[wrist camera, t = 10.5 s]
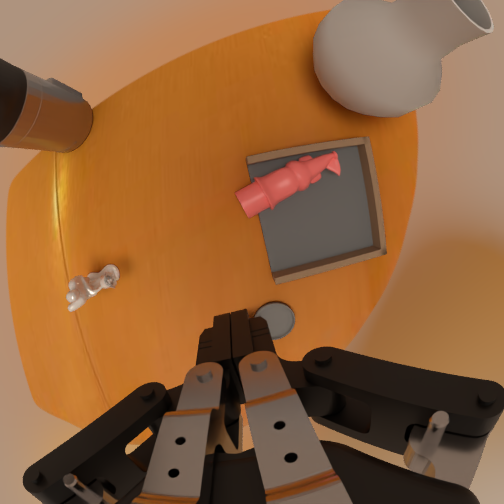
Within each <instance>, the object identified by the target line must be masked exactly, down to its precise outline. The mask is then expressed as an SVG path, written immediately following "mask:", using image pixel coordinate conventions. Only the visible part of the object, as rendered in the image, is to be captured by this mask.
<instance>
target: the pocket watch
mask: <svg viewBox="0 0 504 504" xmlns="http://www.w3.org/2000/svg"><path fill="white" fill-rule="evenodd" d="M259 316H261V317H262V318H264V319H265V320H267V323H268V327H269V330H270V334H271V337H272V340H276V339H280V338H283V337H285V336H286V335H288V334H289V333H290V332H291V330H292V329H293V327H294V324H295V316H294V313H293V311H292V310H291V309H290V308H289V307H288V306H287V305H285V304H283V303H278V302H273V303H269V304H266V305H264V306H262V307H261V308H260V309H259V310H258V311H257V312H256V314H255V316H254V318H255V317H259ZM249 319H251V318H249Z"/></svg>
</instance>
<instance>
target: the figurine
mask: <svg viewBox="0 0 504 504" xmlns="http://www.w3.org/2000/svg"><path fill="white" fill-rule="evenodd" d="M119 277H120V273H119V270H118V268H117V267H116V266H115V265H113V264H108V265H106V266H105V267H104V268H103V269H102V270H101V271H100V272H99V273H95V272H92V273H89V274H88V276H87V277H83V276H82V275H78V276H76V277H74V278H73V279H71V280H70V282H69V289H70V291H69V292H68V293H67V295H66V299H67V300H68V301H69V302H71V303H70V304H69V305H68V310H69V311H70V312H73V311H75V310H76V309H78V308H80V307H81V306H82V305H84V303H85V302H86V301H87V300H88V299H89V298H91V297H92V296H93V297H94V296H95V295H96V294H97V292H98V291H100V290H101V289H102V288H105V289H106V288H110V287H111V288H115V286H116V284H117V282H116V281H117V280H119Z"/></svg>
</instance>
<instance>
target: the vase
mask: <svg viewBox="0 0 504 504" xmlns="http://www.w3.org/2000/svg"><path fill="white" fill-rule="evenodd" d="M493 29H494V26H493V21H492V18H491V16H490V13H489V11H488V10H487V8H486V6H485V5H484V3H483V2H482V0H396V1H394V2H392V3H391V2H387V1H382V0H343V1H342V2H341V3H339V4H338V5H336V6H335V7H334V8H333V9H332V10H331V11H330V12H329V13H328V14H327V15H326V17H325V18H324V19H323V20H322V21H321V22H320V23H319V26H318V28H317V31H316V33H315V36H314V38H313V61H314V71H315V73H316V75H317V77H318V79H319V82H320V84H321V86H322V87H323V88H324V89H325V90H326V92H327V93H328V94H329V95H330V96H331V97H332V99H334V100H335V101H337V102H338V103H339V104H341V105H342V106H344V107H345V108H347V109H349V110H352V111H355V112H358V113H361V114H364V115H371V116H377V117H400V116H402V115H404V114H406V113H409V112H411V111H413V110H416V109H418V108H420V107H423V106H425V105H427V104H429V103H431V102H432V101H433V100H434V98H435V97H436V95H437V94H438V92H439V91H440V84H441V77H442V65H441V59H442V58H443V57H445V56H446V55H448V54H449V53H450V52H452V51H453V50H455V49H456V48H457V47H459V46H460V45H463V44H465V43H468V42H470V41H472V40H474V39H477V38H479V37H482V36H484V35H487V34H490V33H492V31H493Z"/></svg>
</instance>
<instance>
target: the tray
mask: <svg viewBox="0 0 504 504" xmlns="http://www.w3.org/2000/svg"><path fill="white" fill-rule="evenodd" d="M332 151H335V152H336V153H337V155H338V161H339V164H340V169H341V172H340V176H338V175H337V174H336V173H334V172H332V171H331V170H329V169H327V168H325V169H324V170H323V171H322V172H321V179H320V180H318V181H317V182H315V183H313V184H312V183H310V185H309V187H308V188H307V189H306V190H304V191H297V192H296V193H294V194H293V195H291V196H290V197H288V198H286V199H285V200H283V201H281V202H279V203H278V204H277V205H276V206H275V207H274V209H273V210H271V209H270V207H269V208H267V209H265V210H263V211H262V212H260V213H258V214H259V218H260V223H261V227H262V231H263V236H264V240H265V245H266V249H267V253H268V258H269V262H270V267H271V271H272V276H273V279H274V281H275V283H276V285H277V284H281V283H285V282H289V281H292V280H296V279H300V278H304V277H307V276H311V275H315V274H319V273H322V272H326V271H329V270H333V269H337V268H340V267H344V266H347V265H351V264H354V263H358V262H361V261H365V260H368V259H371V258H375V257H378V256H382V255H385V254H387V251H386V240H385V230H384V221H383V213H382V206H381V199H380V192H379V186H378V180H377V174H376V168H375V163H374V158H373V153H372V148H371V144H370V139H369V137H360V138H352V139H344V140H337V141H330V142H323V143H316V144H310V145H304V146H298V147H293V148H287V149H282V150H276V151H271V152H266V153H262V154H257V155H252V156H248V157H246V163H247V167H248V171H249V175H250V179H251V183H253V182H255V180H254V177H263V176H265V175H267V174H269V173H271V172H273V171H275V170H277V169H280V168H284V167H285V165H286V164H287V163H288V162H290V161H299V158H301V157H303V156H307V155H310V156H311V157H312V158H315V157H318V156H321V155H324V154H329V153H332Z"/></svg>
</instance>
